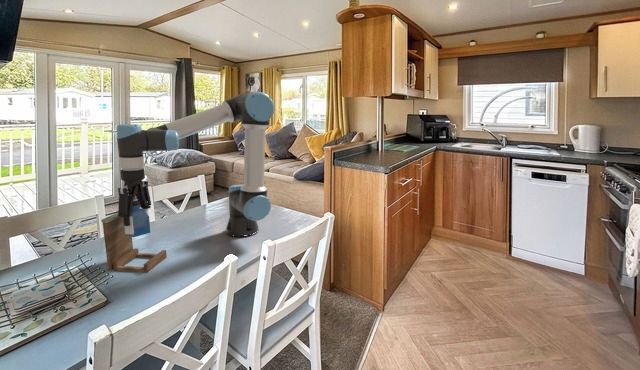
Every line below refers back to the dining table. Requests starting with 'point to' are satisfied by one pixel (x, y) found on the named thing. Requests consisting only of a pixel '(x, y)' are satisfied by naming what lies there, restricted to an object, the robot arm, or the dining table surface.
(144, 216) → the perfume bottle
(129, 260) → the wooden l-shaped stand
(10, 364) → the dining table surface
